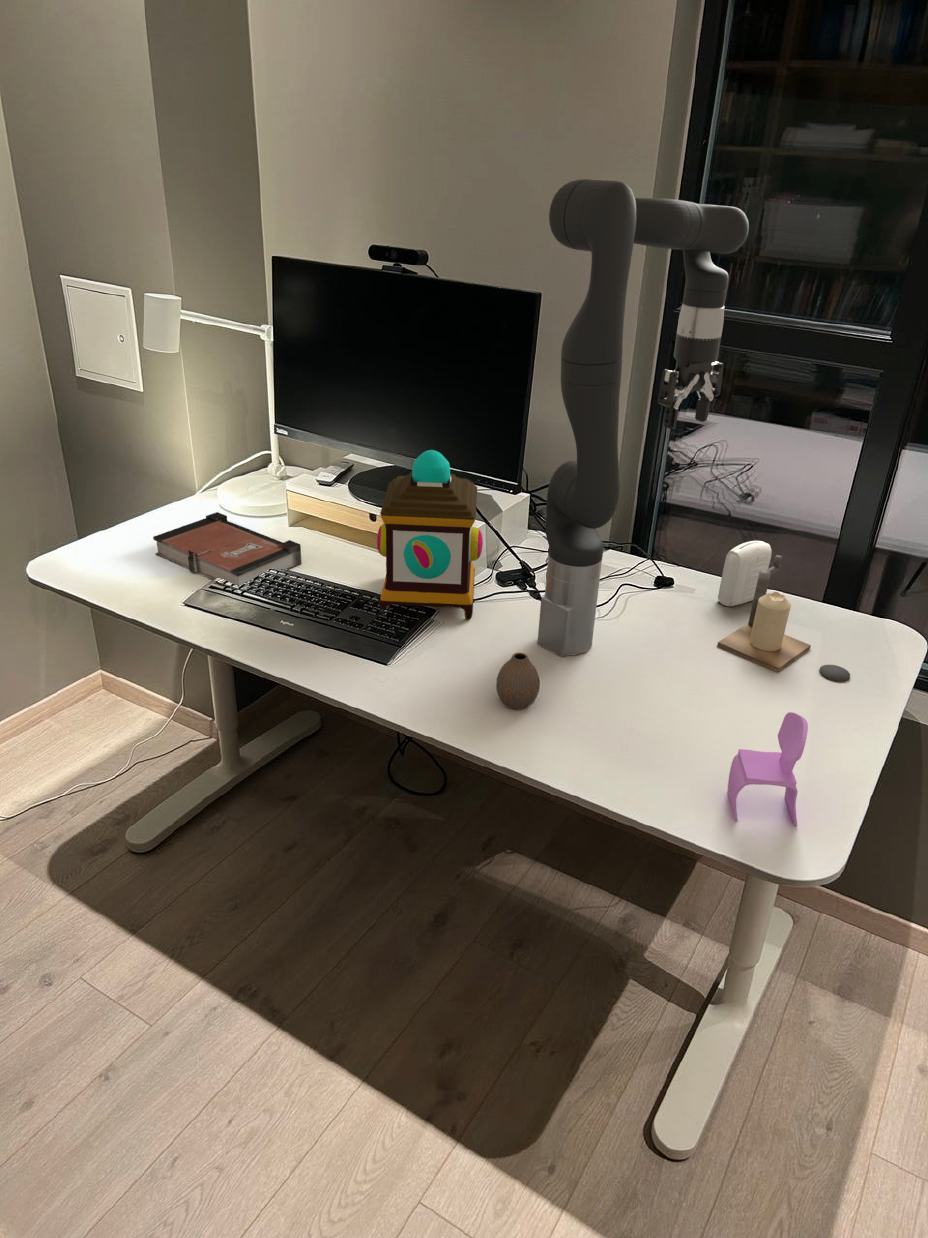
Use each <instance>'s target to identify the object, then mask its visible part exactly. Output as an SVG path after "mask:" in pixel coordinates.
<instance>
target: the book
mask: <svg viewBox="0 0 928 1238" xmlns="http://www.w3.org/2000/svg"><path fill="white" fill-rule="evenodd" d="M152 537H153V538H152V539H153V540H154V541H155V542H156V547H157V552H156V553H155V555H156V556H158V557H160V558H162V559H164V560H166V561H169V562H171V563H174V564H175V565H178V566H180V567H182V568H185V569H186V570H189V572H190V573H192V574H195V575H196V574H197V575H200V576H202V577H205V578H207V579H209V580H211V581H213V580H215V579H216V578H221V579H224V580H226V581H228V582H230V583H233V584H235V585H237V586H238V587H239V586H240V585H242V584H244V583H245V582H247V581H249V580H251V579H253V578H255V577H256V576H258V575H260V574H261V573H263V572H265V571H267V570H269V569H271V568H279V569H287V570H288V571H291V570H292V569H294V568H297V567H298V566H301V565H302V563H303V562H302V551H301V549H302V548H301V546H302V545H301V543H299V542H295V541H293V540H290V539H288V540H286V541H284V542H282V541H280V540H277V539H275V538H272V537H270V536H267V535H265V534H262V533H259V532H256V531H255V530H252V529H249V528H247V527H244V526H242V525H239V524H236V523H235V522H232V521H229V520H228V516H227V514H223V513H221V512H218V511H216V512H213V513H211V514H207V515H205V518H202V519H200V520H196V521H193V522H190V523H189V524H186V525H182V526H179V527H177V528H174V529H172V530H168V531H166V532H163V533H159V534H157V535H153V536H152Z"/></svg>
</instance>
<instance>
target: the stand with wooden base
mask: <svg viewBox="0 0 928 1238" xmlns="http://www.w3.org/2000/svg"><path fill="white" fill-rule="evenodd" d="M773 561H774V562H773V566H771V567H768V570H760V571H759V576H758V580H757V585H756V590H755V594H754V599H753V600H752V605H751V608H750V609H751V610H750V614H749V619H748V622H747V623H746V624H744V625H742V627H740V628H738V629H737V630H735V631H733V632H732V633H730V634H729V635H727V636H725V637H723V638H722V639H720V640H718V641H717V645H716V646H717V647H719V648H722V649H724V650H725V651H728V652H730V653H732V654H735V655H738V656H740V657H742V658H744V659H747V660H749V661H751V662H753V663H756V664H758V665H760V666H763V667H765V668H767V669H769V670H771V671H774V672H776V673H779V672H780V671H781V670H783V669H784V668H786V667H787V666H788V665H790V664H791V663H793V662H794V661H796V659H798V658H799V657H801V656H802V655H804V654H805V653H806V652H808V651H809V650H810V649H811V647H812V646H811V644H809V643H806V642H805V641H802V640H799V639H797V638H794V637H792V636H789V635H787V634H785V633H784V637H783V641H782V645H781V647H780V649H779V650H777V651H763V650H759V649H757V648H755V647H753V646H752V645H751V643H750V637H751V632H752V627H753V623H754V618H755V614H756V609H757V605H758V600H759V598H760V597H762V596H764V595H766V594H767V592H768V588H769V583H770V578H771V576H772V575H774V574H776V573H777V572H779V570H780V568H781V564H782V561H783V556H782V555H778V554H776V555H775V557H774V560H773Z"/></svg>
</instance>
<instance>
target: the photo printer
mask: <svg viewBox="0 0 928 1238" xmlns="http://www.w3.org/2000/svg"><path fill="white" fill-rule="evenodd" d="M771 558H772V548H771V545H770V544H769V543H767V542H765V541H762V540H751V541H746V542H743V543H741V544H738V545H737V546H735V547H733V548H732V549H731V550H729V551H728V552H727V553H726V556H725V561H724V564H723V569H722V574H721V580H720V584H719V591H718V595H717V600H718V602H719V603H720V604H721V605H723V606H726V607H734V606H739V605H743V604H746V603H748V602H751V601H752V602H753V599H754V594H755V590H756V585H757V580H758V576H759V571H760V570H768V569H769V568H770V567H769V566H770V562H771Z"/></svg>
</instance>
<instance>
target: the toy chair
mask: <svg viewBox="0 0 928 1238" xmlns="http://www.w3.org/2000/svg"><path fill="white" fill-rule="evenodd" d="M808 724H809V723H808V720H807V719H806V718H805V717H803V716H802V715H800V714H798V713H795V712H791V711H789V712H787V713H786V714H785V715H784V717H783V720H782V723H781V726H780V728H779V731H778V733H777V740H778V744H779V748H780V750H781V751H780V752H779V751H777V752H776V751H760V750H752V749H742V748H739V749H738V751H737V754H735V756H734V757H733V758H732V761H731V764H730V770H729V773H728V774H729V775H728V779H727V780H728V782H727V794H728V799H729V803H730V807H731V810H732V814H733V819H734V821H735V822H738V821H739V820H738V813H737V798H738V796H739V793H740V792H741V791H742V789H743V788H745V787H746V786H749V785H759V786H760V785H761V786H763V785H765V786H775V787H776V786H777V787H783V788H785V792H784V799H785V802H786V805H787V807H788V810H789V814H790V817H791V820H792V822H793V825H794V827H798V820H797V809H796V807H797V806H796V804H797V796H798V789H797V779H796V776H795V775H794V774H795V773H794V772H793V770H794V768H795V765H796V763H797V762H798V761H799V760H800V759H801V758H802V756H803V753H804V750H805V746H806V742H807V738H808V737H807V736H808V731H809V725H808Z"/></svg>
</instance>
